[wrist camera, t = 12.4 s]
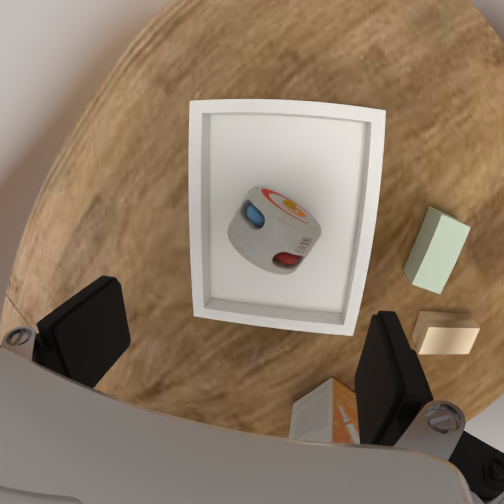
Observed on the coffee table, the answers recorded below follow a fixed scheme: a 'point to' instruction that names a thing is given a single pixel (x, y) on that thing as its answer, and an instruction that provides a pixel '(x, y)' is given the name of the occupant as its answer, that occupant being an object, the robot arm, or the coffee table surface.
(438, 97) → the coffee table surface
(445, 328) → the maple block
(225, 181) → the tray
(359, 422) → the robot arm
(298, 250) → the roller toy
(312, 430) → the small box
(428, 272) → the sage block
